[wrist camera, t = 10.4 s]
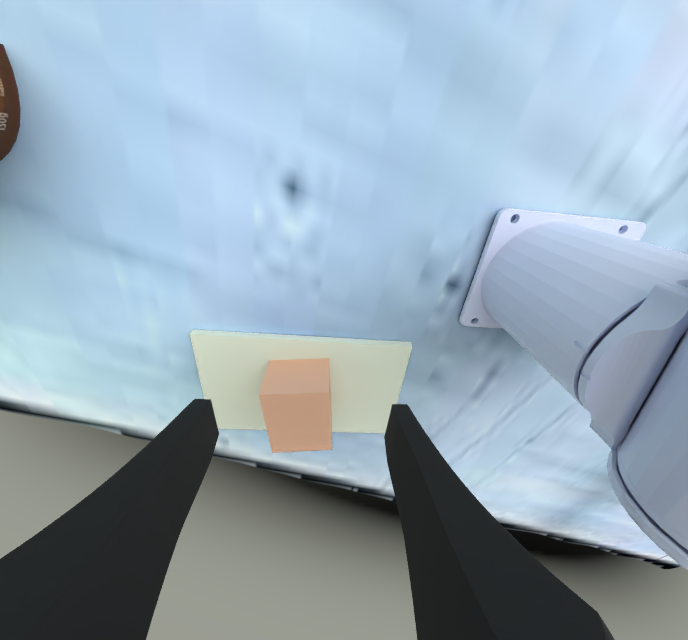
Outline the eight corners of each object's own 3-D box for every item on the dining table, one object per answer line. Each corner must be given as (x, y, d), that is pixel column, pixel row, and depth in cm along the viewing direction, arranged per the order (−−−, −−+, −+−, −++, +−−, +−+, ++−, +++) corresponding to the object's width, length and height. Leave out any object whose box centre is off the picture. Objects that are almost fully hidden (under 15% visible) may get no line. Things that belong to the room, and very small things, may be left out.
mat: (410, 341, 21) (412, 346, 20) (387, 427, 26) (388, 433, 25) (193, 329, 20) (189, 334, 19) (213, 422, 25) (210, 428, 24)
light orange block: (331, 412, 24) (332, 449, 21) (279, 415, 24) (272, 452, 21) (328, 358, 21) (328, 392, 18) (269, 360, 21) (258, 395, 18)
